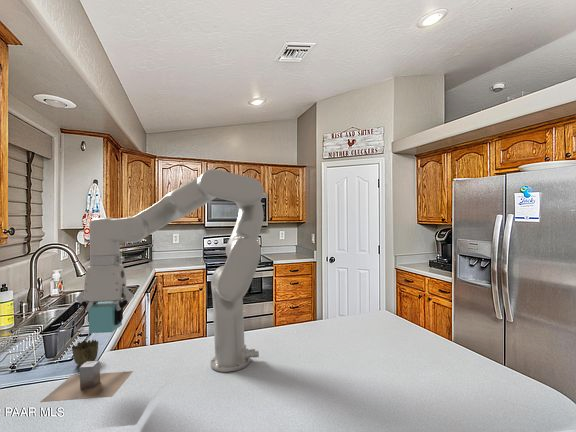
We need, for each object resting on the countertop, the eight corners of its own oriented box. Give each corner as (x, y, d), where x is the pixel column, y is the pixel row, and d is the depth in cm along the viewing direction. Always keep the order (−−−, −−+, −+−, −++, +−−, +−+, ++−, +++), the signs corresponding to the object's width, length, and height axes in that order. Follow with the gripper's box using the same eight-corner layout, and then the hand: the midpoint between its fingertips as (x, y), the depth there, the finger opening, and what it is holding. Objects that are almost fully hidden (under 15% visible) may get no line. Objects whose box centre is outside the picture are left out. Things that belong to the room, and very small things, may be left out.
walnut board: (133, 375, 100) (133, 371, 100) (112, 401, 86) (111, 396, 86) (71, 380, 99) (71, 375, 99) (40, 407, 85) (40, 401, 85)
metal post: (100, 381, 94) (99, 360, 94) (93, 388, 91) (92, 366, 91) (87, 382, 94) (86, 361, 94) (80, 389, 91) (79, 367, 90)
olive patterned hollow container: (86, 374, 102) (85, 348, 102) (66, 372, 104) (65, 347, 104) (104, 363, 110) (103, 339, 110) (85, 362, 111) (84, 338, 111)
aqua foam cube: (121, 325, 97) (121, 301, 97) (112, 332, 91) (111, 307, 91) (100, 325, 96) (99, 302, 96) (88, 333, 90) (88, 307, 90)
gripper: (141, 258, 98) (141, 318, 98) (80, 260, 97) (81, 320, 97) (131, 262, 91) (131, 327, 90) (65, 263, 89) (66, 329, 89)
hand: (105, 323), depth 94 cm, fingers closed on aqua foam cube, 6 cm apart
